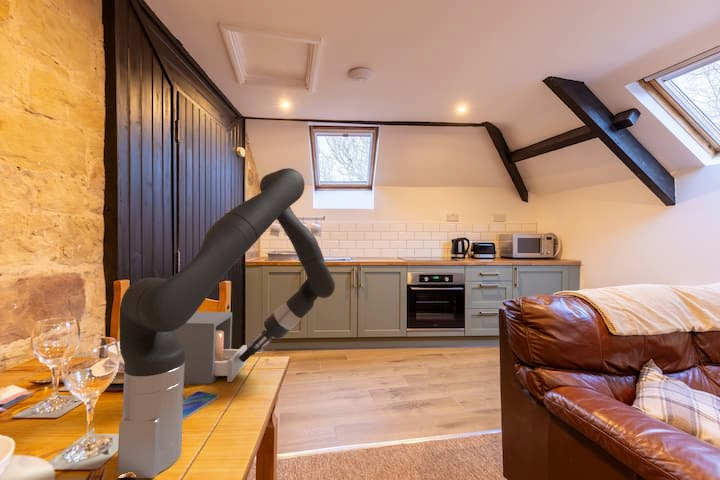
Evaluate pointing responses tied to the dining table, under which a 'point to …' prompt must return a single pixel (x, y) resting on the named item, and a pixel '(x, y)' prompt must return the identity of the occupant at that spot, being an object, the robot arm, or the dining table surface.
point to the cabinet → (203, 344)
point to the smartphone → (196, 402)
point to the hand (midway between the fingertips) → (241, 359)
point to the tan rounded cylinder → (219, 345)
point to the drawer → (230, 363)
